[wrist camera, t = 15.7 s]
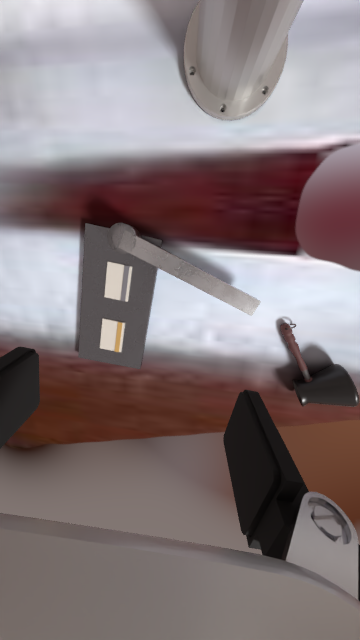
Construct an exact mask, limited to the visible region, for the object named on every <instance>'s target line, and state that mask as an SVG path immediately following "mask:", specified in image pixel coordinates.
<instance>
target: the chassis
mask: <svg viewBox="0 0 360 640" xmlns="http://www.w3.org/2000/svg"><path fill="white" fill-rule="evenodd" d="M109 229H110V228H105V227H101V226H96V225H92V224H87V223H85V240H84V259H83V278H82V298H81V317H80V336H79V356H78V357H80V358H85V359H90V360H95V361H101V362H106V363H111V364H116V365H122V366H127V367H132V368H137V369H140V368H141V365H142V359H143V353H144V347H145V341H146V335H147V329H148V323H149V317H150V311H151V306H152V300H153V294H154V288H155V282H156V276H157V270H158V267H156V266H154V265H152V264H150V263H148V262H146V261H144V260H142V259H140V258H138V257H136V256H134V255H132V254H130V253H128V254H119V253H117V252H115V251H114V250H113V249H112V248H111V247H110V246H109V244H108V240H107V234H108V231H109ZM141 238H143V239H145V240H147V241H149V242H150V243H152V244H154V245H156V246H158V247H160V248H161V247H162V241H163V240H159V239H155V238H150V237H146V236H141ZM107 262H113V263H118V264H122V265H127V266H132V274H131V282H130V290H129V297H128V302H126V301H120V300H116V299H111V298H106V297H104V296H105V284H106V273H107ZM103 318H105V319H110V320H115V321H120V322H125V328H124V336H123V344H122V351H121V352H115V351H111V350H106V349H101V348H100V340H101V329H102V319H103Z"/></svg>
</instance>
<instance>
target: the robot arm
mask: <svg viewBox="0 0 360 640" xmlns="http://www.w3.org/2000/svg"><path fill="white" fill-rule="evenodd" d="M303 1H304V0H199V2H198V4H197V6H196V7H195V9H194V11H193V13H192V16H191V18H190V21H189V23H188V27H187V31H186V36H185V43H184V69H185V76H186V80H187V84H188V87H189V89H190V92H191V94H192V96H193V98H194V99H195V101H196V102H197V103H198V105H199V106H200V107H201V108H202V109H203V110H204V111H205V112H206V113H208V114H209V115H211V116H213V117H215V118H218V119H221V120H230V121H232V120H238V119H242V118H244V117H246V116H249V115H250V114H252V113H253V112H255V111H256V110H258V109H259V108H260V107H261V106H262V105H263V104H264V103H265V102H266V100H267V99H268V98H269V96H270V95H271V93H272V92H273V90H274V88H275V86H276V85H277V83H278V81H279V78H280V76H281V74H282V71H283V68H284V64H285V61H286V55H287V48H288V32H289V30H290V28H291V25H292V23H293V21H294V19H295V17H296V15H297V13H298V11H299V9H300V7H301V5H302V3H303ZM191 74H193V75H192V76H191ZM262 93H264V94H262ZM221 110H223V111H224V112H221ZM39 402H40V394H39V355H38V354H37V353H36V351H35V350H34V349H30V348H25V347H17V348H15V349H14V350H12V351H10V352H9V353H7V354H6V355H4V356H2V357H1V358H0V448H1V447H2V446H3V445H4V444H5V443H6V442H7V441H8V440H9V438H10V437H11V436H12V435H13V434H14V433H15V432H16V431H17V430H18V429H19V428H20V426H21V425H22V424H23V423H24V422H25V421H26V420H27V419H28V418H29V417H30V415H31V414H32V413H33V412H34V411H35V410H36V409H37V407H38V405H39ZM224 446H225V451H226V456H227V462H228V466H229V471H230V477H231V481H232V487H233V491H234V497H235V501H236V507H237V512H238V517H239V522H240V527H241V531H242V533H243V534H244V535H246V536H247V541H248V545H249V548H255V549H261V550H262V554H263V555H260V554H254V553H249V552H243V551H238V550H232V549H227V548H221V547H215V546H211V545H204V544H198V543H192V542H185V541H179V540H172V539H167V538H160V537H153V536H148V535H141V534H135V533H129V532H122V531H116V530H109V529H102V528H96V527H90V526H83V525H76V524H70V523H63V522H57V521H50V520H44V519H37V518H31V517H24V516H17V515H10V514H3V513H0V640H360V545H359V544H358V538H357V533H356V531H355V529H354V527H353V524H352V523H351V521H350V520H349V518H348V517H347V515H346V514H345V513H344V512H343V511H342V510H341V509H340V507H339V506H337V505H336V504H335V503H334V502H333V501H332V500H330V499H329V498H327V497H325V496H324V495H322V494H319V493H317V492H309V491H308V489H307V487H306V485H305V483H304V481H303V479H302V477H301V475H300V473H299V471H298V469H297V467H296V465H295V463H294V461H293V460H292V457H291V455H290V453H289V451H288V450H287V448H286V445H285V444H284V441H283V440H282V438H281V436H280V434H279V432H278V430H277V428H276V427H275V425H274V423H273V421H272V419H271V417H270V415H269V413H268V411H267V409H266V407H265V405H264V403H263V401H262V399H261V397H260V395H259V393H258V392H255V391H250V390H244V392H240V394H239V396H238V399H237V401H236V404H235V407H234V409H233V412H232V415H231V417H230V420H229V423H228V426H227V428H226V431H225V434H224Z"/></svg>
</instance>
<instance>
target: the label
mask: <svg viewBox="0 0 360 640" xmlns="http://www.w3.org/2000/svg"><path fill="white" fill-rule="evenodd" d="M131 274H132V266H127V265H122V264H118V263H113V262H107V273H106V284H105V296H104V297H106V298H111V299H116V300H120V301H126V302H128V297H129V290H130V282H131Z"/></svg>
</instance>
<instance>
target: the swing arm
mask: <svg viewBox="0 0 360 640" xmlns="http://www.w3.org/2000/svg"><path fill="white" fill-rule="evenodd" d="M107 240H108V244H109V246H110V247H111V248H112V249H113V250H114V251H115V252H117V253H119V254H128V253H130V254H132V255H134V256H136V257H138V258H140V259H142V260H144V261H146V262H148V263H150V264H152V265H154V266H156V267H158V268H160V269H161V270H163V271H165V272H167V273H169V274H171V275H173V276H175V277H177V278H179V279H181V280H183V281H185V282H187V283H189V284H191V285H193V286H195V287H196V288H198V289H200V290H202V291H204V292H206V293H208V294H210V295H212V296H214V297H216V298H218V299H220V300H222V301H224V302H226V303H228V304H230V305H232V306H233V307H235V308H237V309H239V310H241V311H243V312H245V313H247V314H249V315H251V316H252V314H253V313H254V311H255V310H256V308H257V307H258V305H259V304H260V302H261V301H259V300H258V299H256V298H254V297H253V296H251V295H249V294H247V293H245V292H243V291H241V290H239V289H237V288H236V287H234V286H232V285H230V284H228V283H226V282H224V281H222V280H220V279H219V278H217V277H215V276H213V275H211V274H209V273H207V272H205V271H203V270H201V269H200V268H198V267H196V266H194V265H192V264H190V263H188V262H186V261H184V260H183V259H181V258H179V257H177V256H175V255H173V254H171V253H169V252H167V251H166V250H164V249H162V248H160V247H158V246H156V245H154V244H152V243H150V242H149V241H147V240H145V239H143V238H141V235H140V233H139V231H138V230H137V229H136V228H134V227H132V226H130V225H127V224H124V223H117V224H114V225H113V226H111V228H110V229H109V231H108V234H107Z"/></svg>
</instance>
